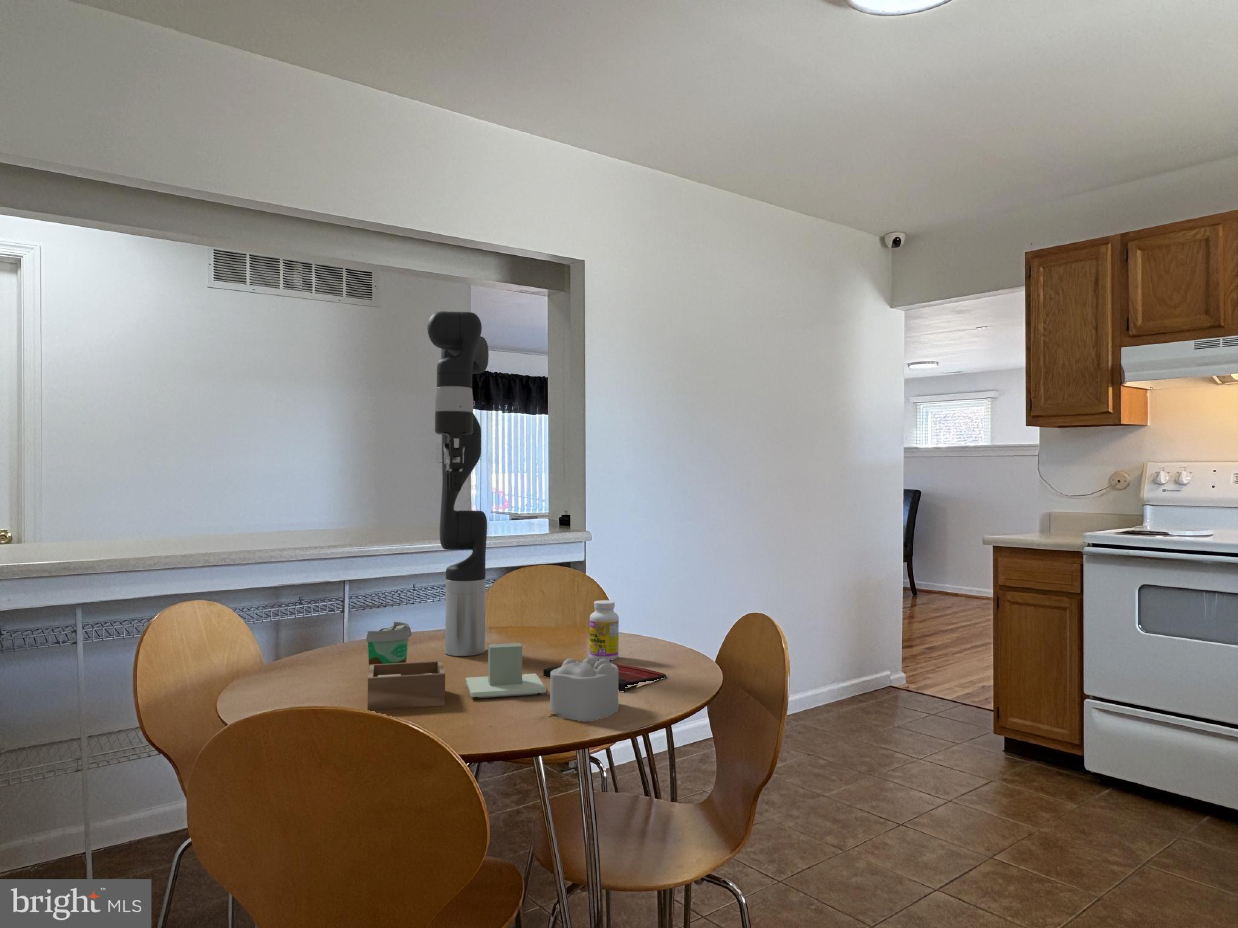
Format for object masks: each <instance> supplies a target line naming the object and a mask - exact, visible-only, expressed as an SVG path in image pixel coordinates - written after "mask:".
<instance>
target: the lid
mask: <svg viewBox="0 0 1238 928" xmlns="http://www.w3.org/2000/svg"><path fill="white" fill-rule="evenodd" d="M487 648H488V649H487V650H488V651H487V654H488V655H487V659H488V660H487V661H488V662H487V663H488V664H487V675H486V676H472V677H465V683H466V686H467V690H468V692H469V695H470V697H471V698H476V697H477V698H478V699H484V698H487V699H489V698H500V697H515V696H516V697H518V696H533V695H537V694H540V693H547V687H546V685H544V683H543V682H542V680H541V679H540V678H539V675H537V673H525V674H523V645H522V644H521V642H513V643H510V642H509V643H493V644H492V643H491V644H488V646H487Z"/></svg>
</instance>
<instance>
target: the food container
mask: <svg viewBox="0 0 1238 928" xmlns="http://www.w3.org/2000/svg"><path fill="white" fill-rule="evenodd" d="M411 629H412V628H411V627H410V624H409V623H407V622H403V621H394V622H393V626H390V627H386V628H385V627H383V628H381V629H379V630H367V634H366V640H365V642H366V643H367V653H368V655H367V656H368V667H369V666H370V665H372V664H391V663H407V655H408V646H409V645H408V643H409V638H410V637H412V631H411Z"/></svg>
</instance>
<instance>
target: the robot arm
mask: <svg viewBox="0 0 1238 928" xmlns="http://www.w3.org/2000/svg"><path fill="white" fill-rule="evenodd" d="M426 327H427V328H426V329H427V334H428V338H429V340H430V341H431V343H432V344H433V345H434V346H435V347H436V348H439V349H440V350H441V351H440V358H441V359H439V360H438V362H437V364H436V390H435V396H434V397H435V399H434V401H435V402H434V412H435V413H434V432H435V434H437V435H441V470H442V471H441V475H442V478H441V479H442V481H441V483H442V486H441V501H440V502H441V503H440V518H439V541H440V545H441V547H442V548H441V549H443V550H446V551H458V550H459V551H461V550H462V551H464V550H465V551H466V550H467V551H468V550H469V551H470V550H471V554H470V555H469V556H468V557H467V558H465V559H464V560H461V561H459V562H457V563H454V564H450V565H449V566H447V568H446V570H445V609H444V610H445V611H444V612H445V616H444V617H445V618H444V619H445V622H444V623H445V624H444V625H445V630H444V631H445V632H444V633H445V634H444V635H445V636H444V641H445V642H444V652H445V654H446V655H449V656H454V657H467V656H468V657H469V656H476V655H481V654H484V653H485V652H486V576H487V575H486V552H487V551H486V550H487V538H488V537H487V535H488V519H487V516H486V514H485V512H484V511H483V510H455V504H456V500H457V497H458V496H459V493H460V491H461V490H462V488H463V487H464V486H463V485H464V484H465V482H466V481H467V479H468V478H469V477H470V475H471V474H472V472H473V471H474V469H475V467H476V466H477V465H478V463H479V460H480V458H481V456H482V426H481V424H480V423H479V420H478V418H477V417H476V415H475V414H474V395H473V374H474V375H475V374H477V375H478V374H481V373H484V372H485V371H486V370H487V368H488V365H489V346H488V343H487V340H486V338H485V337H484V336H481V335H482V329H483V327H482V321H481V319H480V317H479V316H478V314H476V313H475V312H470V311H443V310H442V311H437V312H434V313H433V314H432V315H431V316H430V317H429V319H428V322H427V326H426Z"/></svg>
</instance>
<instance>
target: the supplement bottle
mask: <svg viewBox="0 0 1238 928" xmlns="http://www.w3.org/2000/svg"><path fill="white" fill-rule="evenodd" d="M593 607H594V612H592V613H591V614H590V615H589V645H588V646H589V648H588V649H589V650H588V651H589V655H588V657H593V658H596V659H597V660H601V659H607V660H609V659H614V660H616V659H617V657H618V658H619V640H620V639H619V630H620V629H619V626H620V625H619V622H620V621H619V618H620V617H619V615H618V613H617V612H615V611H614V609H615V607H616V606H615V601H613V600H608V599H606V600H605V599H603V600H602V599H601V600H595V601H594V602H593ZM615 658H616V659H615Z"/></svg>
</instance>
